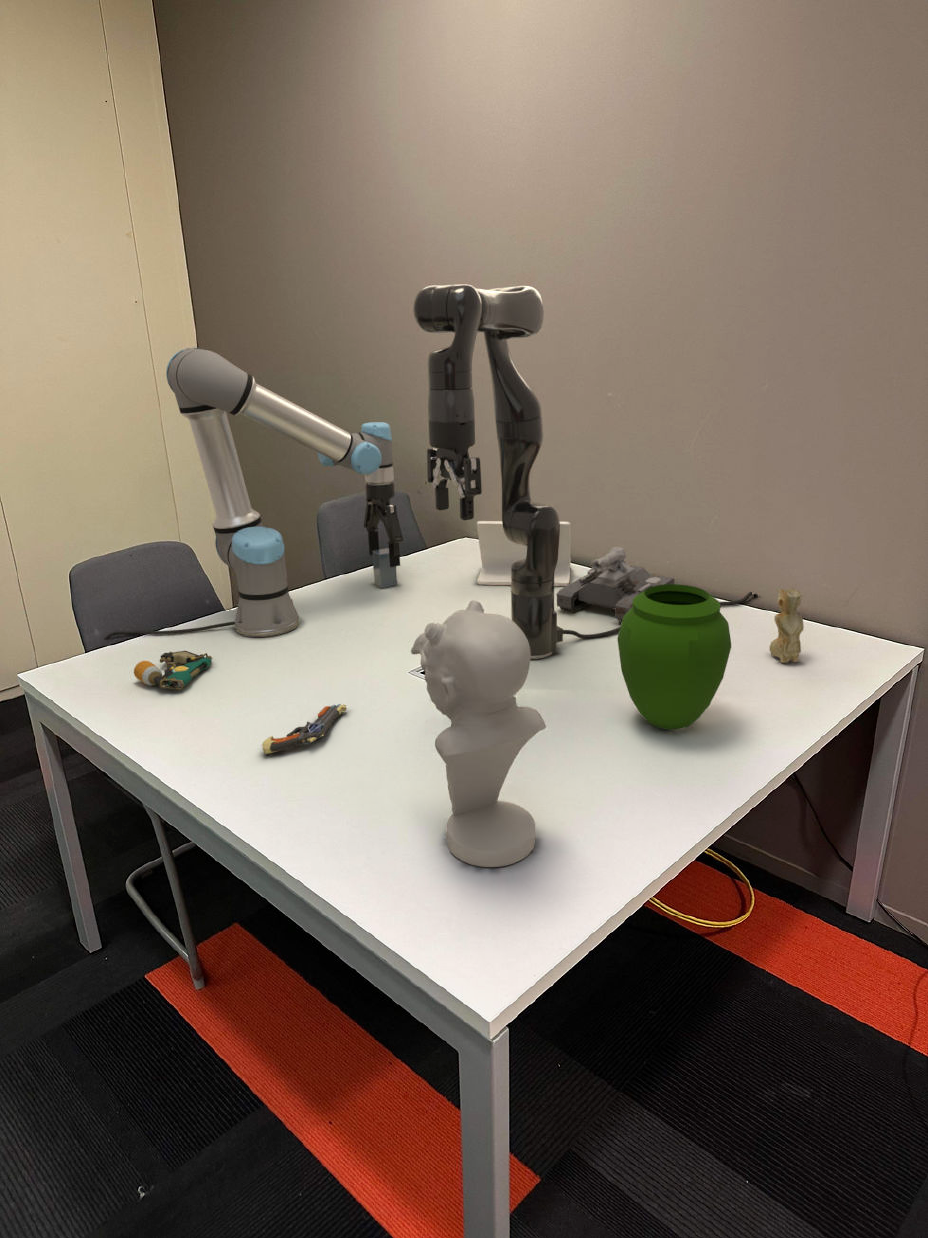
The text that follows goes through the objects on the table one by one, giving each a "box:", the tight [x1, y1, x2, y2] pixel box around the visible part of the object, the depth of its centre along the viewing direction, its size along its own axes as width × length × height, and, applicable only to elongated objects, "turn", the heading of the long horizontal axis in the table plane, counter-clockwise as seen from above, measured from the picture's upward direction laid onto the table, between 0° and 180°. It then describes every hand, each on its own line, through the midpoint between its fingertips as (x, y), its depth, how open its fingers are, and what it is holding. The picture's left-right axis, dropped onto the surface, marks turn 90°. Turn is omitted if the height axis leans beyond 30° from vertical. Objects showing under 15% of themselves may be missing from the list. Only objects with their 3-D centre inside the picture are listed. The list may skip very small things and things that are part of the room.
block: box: [371, 547, 398, 589], centre depth 233 cm, size 5×5×10 cm
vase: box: [616, 583, 732, 731], centre depth 151 cm, size 20×20×24 cm
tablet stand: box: [476, 520, 572, 587], centre depth 236 cm, size 18×25×17 cm
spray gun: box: [133, 650, 213, 690], centre depth 180 cm, size 4×17×15 cm
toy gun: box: [262, 703, 348, 755], centre depth 155 cm, size 3×19×10 cm
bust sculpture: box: [410, 599, 547, 868], centre depth 121 cm, size 16×24×35 cm
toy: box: [556, 546, 676, 622], centre depth 212 cm, size 25×20×15 cm
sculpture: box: [768, 587, 805, 664], centre depth 178 cm, size 6×7×15 cm
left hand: (384, 560), depth 233 cm, fingers open, 13 cm apart
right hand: (454, 514), depth 144 cm, fingers open, 8 cm apart
